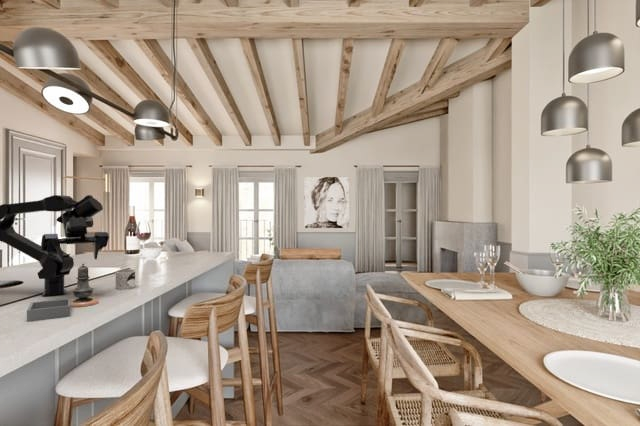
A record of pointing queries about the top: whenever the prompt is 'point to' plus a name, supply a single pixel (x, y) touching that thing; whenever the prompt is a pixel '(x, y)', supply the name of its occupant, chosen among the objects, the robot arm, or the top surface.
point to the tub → (49, 309)
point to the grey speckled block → (125, 279)
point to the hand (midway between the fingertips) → (80, 260)
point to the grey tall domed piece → (82, 286)
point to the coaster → (85, 303)
